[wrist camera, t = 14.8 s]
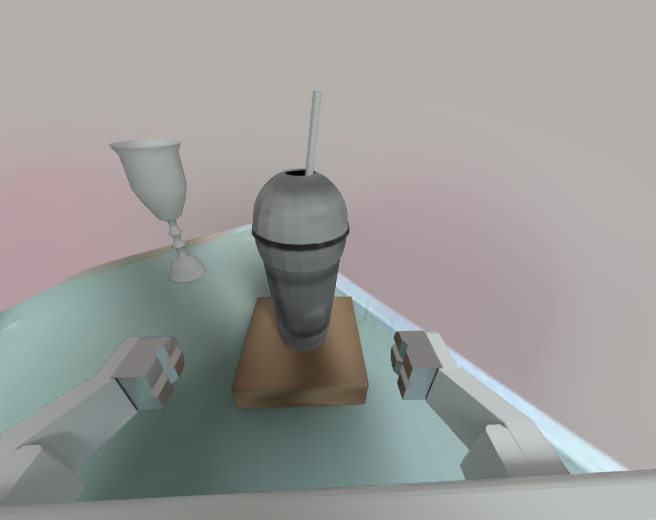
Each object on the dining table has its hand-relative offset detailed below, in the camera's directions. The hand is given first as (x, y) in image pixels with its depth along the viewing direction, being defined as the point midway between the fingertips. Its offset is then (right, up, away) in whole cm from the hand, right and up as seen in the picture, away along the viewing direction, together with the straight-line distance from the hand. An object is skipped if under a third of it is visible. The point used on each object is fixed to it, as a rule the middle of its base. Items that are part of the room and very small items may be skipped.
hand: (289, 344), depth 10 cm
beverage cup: (-1, -4, +16) cm, 16 cm away
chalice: (-20, +1, +29) cm, 35 cm away
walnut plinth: (-1, -7, +17) cm, 18 cm away
